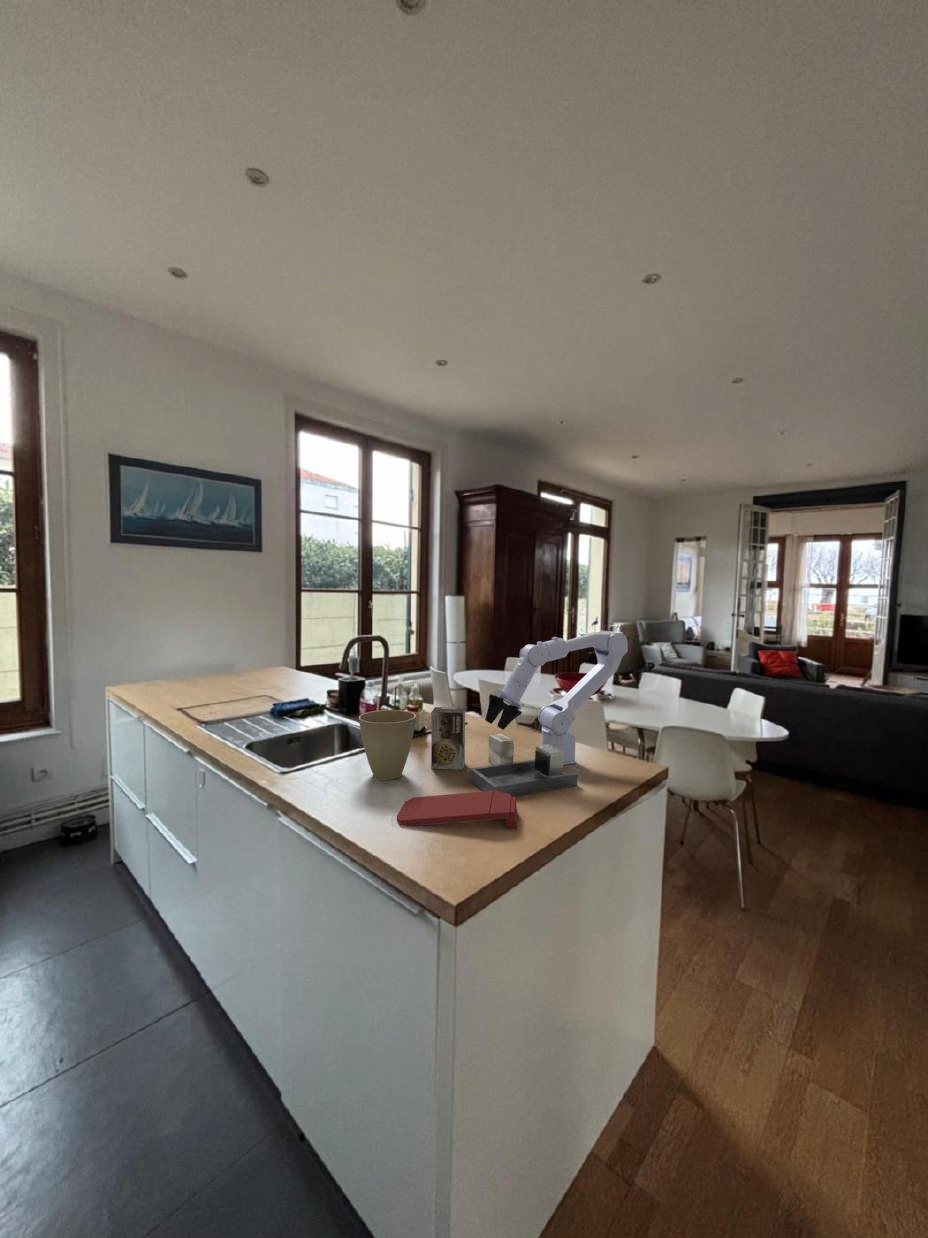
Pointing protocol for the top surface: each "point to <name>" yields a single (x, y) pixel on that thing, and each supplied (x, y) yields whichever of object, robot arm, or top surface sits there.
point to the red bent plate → (459, 809)
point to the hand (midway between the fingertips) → (494, 725)
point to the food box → (448, 738)
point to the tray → (525, 774)
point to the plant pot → (387, 741)
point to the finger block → (500, 749)
